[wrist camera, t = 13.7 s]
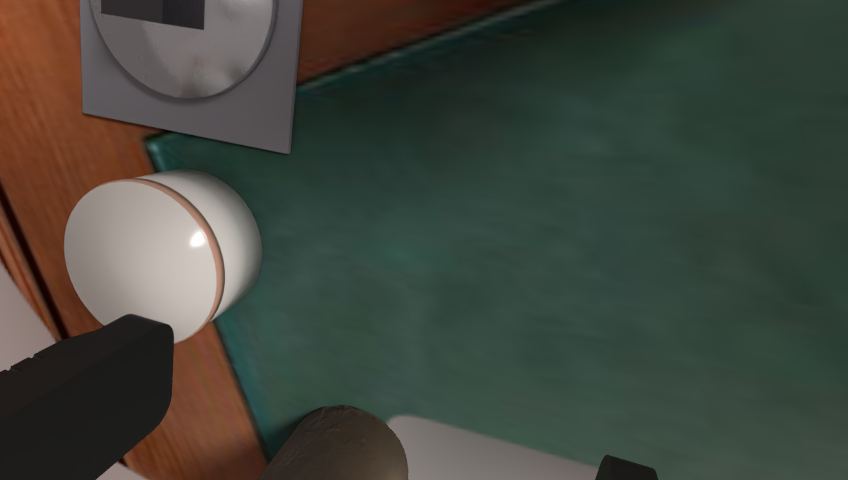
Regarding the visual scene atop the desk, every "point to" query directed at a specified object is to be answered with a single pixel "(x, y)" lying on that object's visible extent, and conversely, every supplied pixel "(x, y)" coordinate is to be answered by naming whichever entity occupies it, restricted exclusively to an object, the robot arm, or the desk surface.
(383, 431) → the pillar candle
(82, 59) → the mat
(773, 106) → the desk surface
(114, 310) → the dish
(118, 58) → the lid
